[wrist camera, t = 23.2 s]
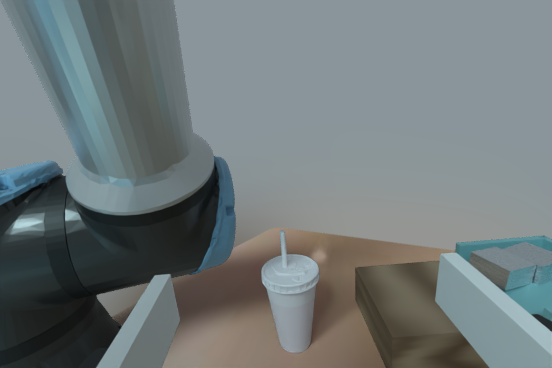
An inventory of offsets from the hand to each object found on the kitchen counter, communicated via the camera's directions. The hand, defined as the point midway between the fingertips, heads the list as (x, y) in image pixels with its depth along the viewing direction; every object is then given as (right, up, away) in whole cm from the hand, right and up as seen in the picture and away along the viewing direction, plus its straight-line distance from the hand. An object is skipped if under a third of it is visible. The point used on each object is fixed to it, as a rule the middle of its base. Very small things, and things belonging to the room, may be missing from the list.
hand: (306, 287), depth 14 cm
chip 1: (+25, -6, +21) cm, 33 cm away
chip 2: (+30, -6, +21) cm, 38 cm away
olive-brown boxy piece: (+17, -12, +20) cm, 29 cm away
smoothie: (+1, -14, +20) cm, 24 cm away
